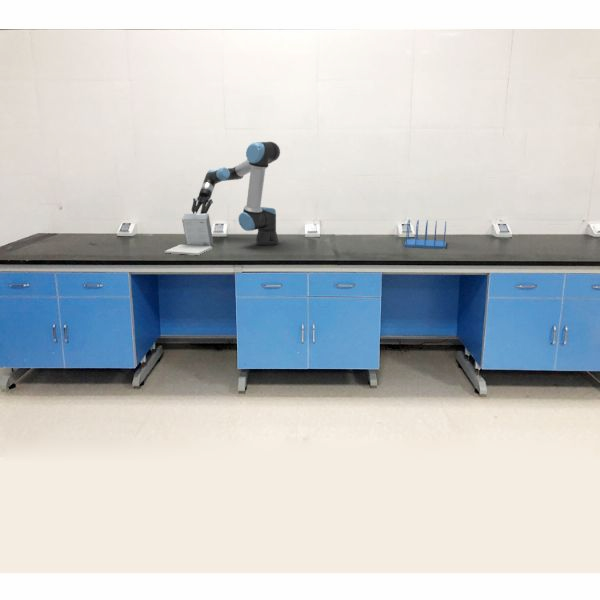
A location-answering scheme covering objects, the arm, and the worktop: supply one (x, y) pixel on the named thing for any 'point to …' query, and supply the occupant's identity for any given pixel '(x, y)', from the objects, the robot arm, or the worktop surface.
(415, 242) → the file sorter
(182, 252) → the white flat square panel
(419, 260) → the worktop surface
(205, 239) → the hard drive box
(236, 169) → the robot arm
